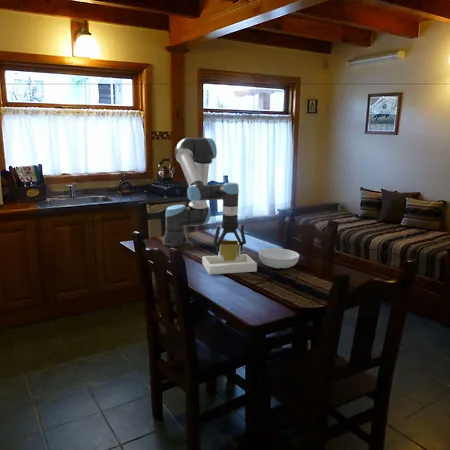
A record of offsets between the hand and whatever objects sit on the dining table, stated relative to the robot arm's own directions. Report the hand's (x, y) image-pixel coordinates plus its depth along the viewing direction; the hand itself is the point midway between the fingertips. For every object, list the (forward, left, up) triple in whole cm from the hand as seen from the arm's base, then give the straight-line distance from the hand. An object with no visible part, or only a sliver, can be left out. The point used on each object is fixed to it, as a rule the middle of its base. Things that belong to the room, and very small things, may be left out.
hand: (229, 257), depth 216 cm
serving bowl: (+2, +26, -5) cm, 27 cm away
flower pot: (0, 0, -1) cm, 1 cm away
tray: (0, 0, -5) cm, 5 cm away
